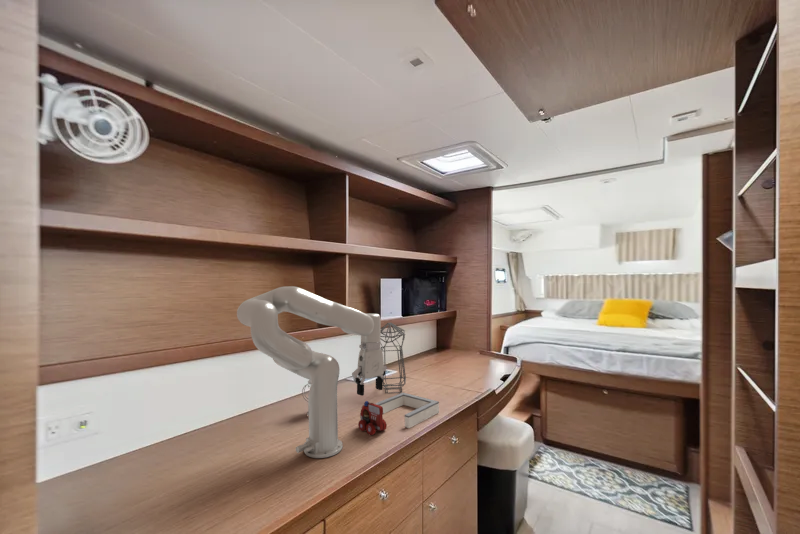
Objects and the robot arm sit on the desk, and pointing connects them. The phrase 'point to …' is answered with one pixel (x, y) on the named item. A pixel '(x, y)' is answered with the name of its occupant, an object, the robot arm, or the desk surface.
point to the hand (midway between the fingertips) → (369, 392)
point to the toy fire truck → (371, 418)
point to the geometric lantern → (397, 352)
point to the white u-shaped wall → (423, 405)
